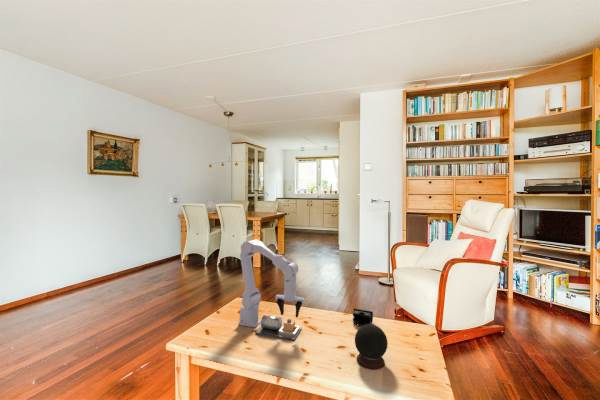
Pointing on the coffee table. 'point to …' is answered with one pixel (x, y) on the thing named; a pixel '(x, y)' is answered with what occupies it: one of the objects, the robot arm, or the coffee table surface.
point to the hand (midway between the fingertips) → (289, 315)
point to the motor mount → (276, 328)
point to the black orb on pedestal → (371, 346)
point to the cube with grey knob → (289, 325)
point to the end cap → (362, 317)
